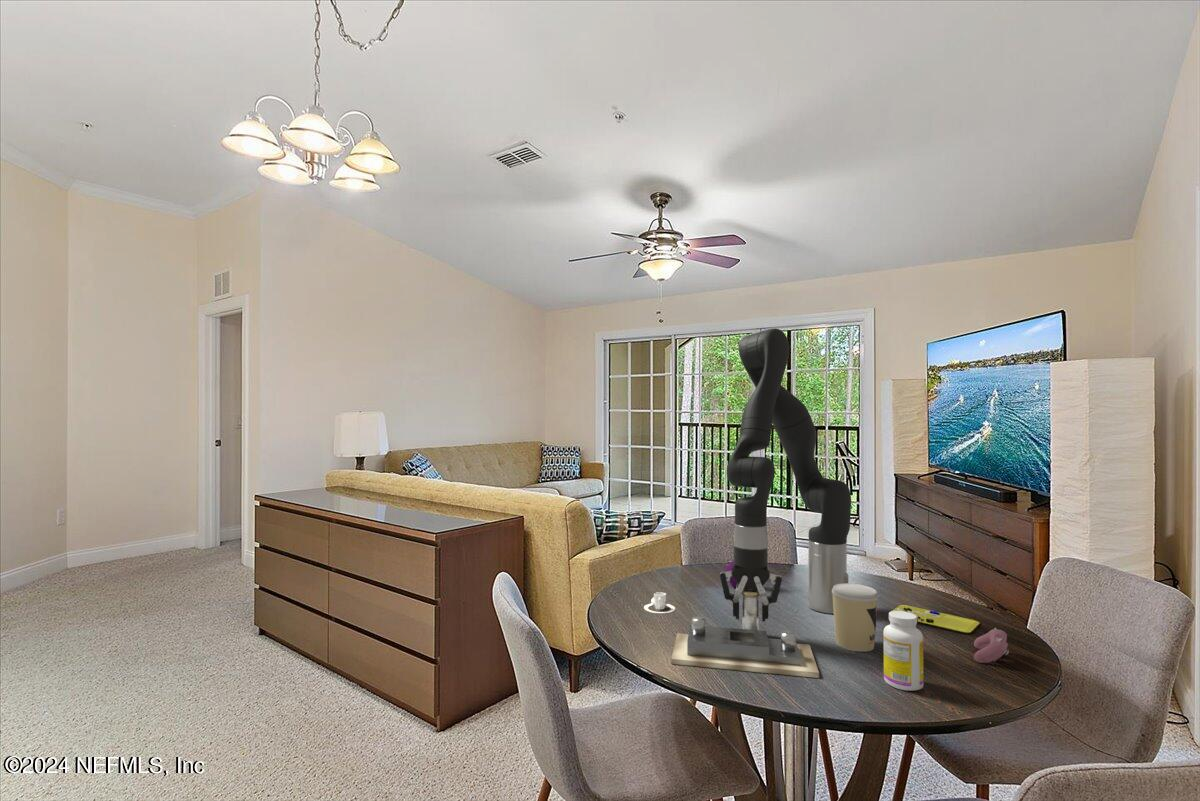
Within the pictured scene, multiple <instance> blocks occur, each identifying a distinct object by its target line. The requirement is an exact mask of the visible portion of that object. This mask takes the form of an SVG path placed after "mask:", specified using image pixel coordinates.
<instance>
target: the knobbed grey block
mask: <svg viewBox="0 0 1200 801" xmlns="http://www.w3.org/2000/svg"><path fill="white" fill-rule="evenodd" d="M797 644H798V643H797V640H796V633H795V632H794V631H791V630H782V631H781V632H780V638H769V637H768V632H767V630H747V629H742V628H732V627H723V626H722V627H721V626H711V625H710V626H708V625H706V618H705V617H703V616H693V617H691V624H690V625H689V630H688V640H687V655H691V656H701V657H712V658H723V659H734V660H744V661H755V662H766V663H777V664H788V665H798V666H801V656H800V653H799V649H798V646H797Z"/></svg>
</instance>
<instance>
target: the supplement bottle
mask: <svg viewBox="0 0 1200 801" xmlns="http://www.w3.org/2000/svg"><path fill="white" fill-rule="evenodd" d="M888 620H889V622H890V623H889V624H887V625H886V626H885V627H884V628H883V631H882V632H883V638H882V639H883V679H884V681H885V683H886V684H888V685H889V686H891V687H893V688H895V689H897V690H901V691H905V692H906V691H910V692H915V691H919V690H922V689H923V688H924V678H925V677H924V676H925V675H924V635H923V632H921V630H920V629H918V628H917V625H918V624H917V616H916V615H914V614H912V613H909V612H904V611H892V610H891V611H889V612H888Z"/></svg>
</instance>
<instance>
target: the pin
mask: <svg viewBox="0 0 1200 801" xmlns="http://www.w3.org/2000/svg"><path fill="white" fill-rule="evenodd" d="M741 595H742V596H741V598H742V600H741V601H742V602H741V604H742V605H741V608H742V609H741V610H742V613H741V617H742V618H741V619H742V621H741V623H742V624H741V625H742V626H741V629H747V630H759V628H760V627H759V626H760V625H759V623H760V622H759V621H760V619H759V617H760V616H759V614H760V612H759V611H760V610H759V608H760V607H759V606H760V605H759V604H760V600H759V599H760V598H759V597H760V594H759V591H755V590H751V589H749V590H743V591H742V594H741ZM759 631H760V630H759Z"/></svg>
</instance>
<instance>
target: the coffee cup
mask: <svg viewBox="0 0 1200 801" xmlns="http://www.w3.org/2000/svg"><path fill="white" fill-rule="evenodd" d="M832 594H833V610H834V614H833V622H834V623H833V624H834V635H835V637H834V638H835V643H836V645H838V646H839V647H841V648H842V649H845V650H849V651H853V652H859V653H860V652H863V653H864V652H871V651H873V650H874V648H875V642H876V628H877V617H878V616H877V615H878V600H879V594H878V592H877V590H876V589H874V588H873V587H871V586H867V585H863V584H857V583H849V584H837V585H835V586H834V587H833V589H832Z"/></svg>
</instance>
